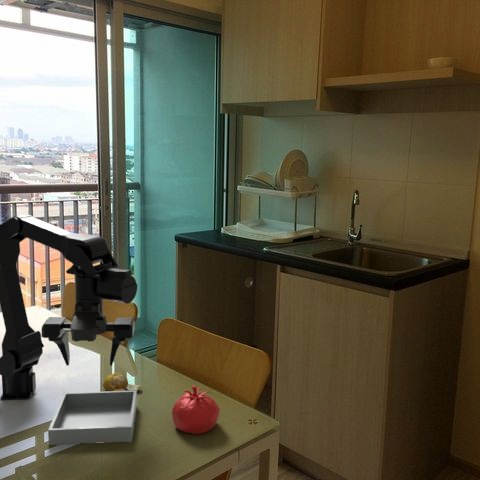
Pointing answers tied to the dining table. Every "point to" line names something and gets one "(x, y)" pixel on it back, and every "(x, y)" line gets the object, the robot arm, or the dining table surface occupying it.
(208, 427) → the pomegranate
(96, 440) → the serving bin
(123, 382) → the fruit
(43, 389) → the dining table surface
